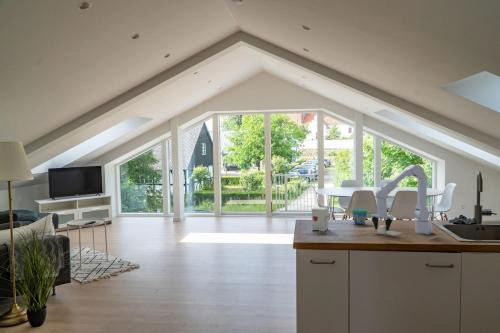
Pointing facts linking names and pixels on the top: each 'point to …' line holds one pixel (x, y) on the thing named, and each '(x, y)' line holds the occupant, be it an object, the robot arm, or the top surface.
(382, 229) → the cap
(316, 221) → the supplement box
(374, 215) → the robot arm
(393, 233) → the board
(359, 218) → the snack cup
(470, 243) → the top surface
